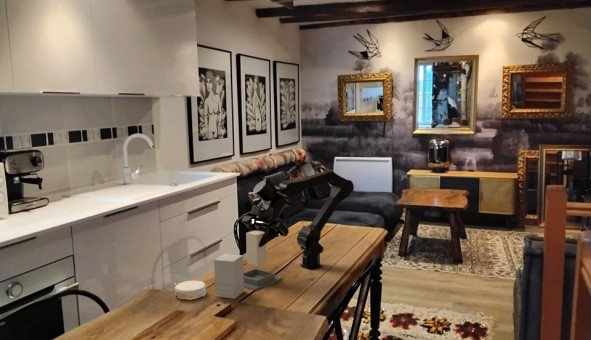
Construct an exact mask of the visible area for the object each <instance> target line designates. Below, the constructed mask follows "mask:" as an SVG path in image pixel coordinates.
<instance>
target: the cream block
mask: <svg viewBox="0 0 591 340" xmlns="http://www.w3.org/2000/svg"><path fill="white" fill-rule="evenodd" d="M264 233H265V231H261V230H259V231H257V230H255V231H251V232H249V231H248V232H246V233H245V237H246V238H245V242H246V249H245V250H246V251H245V252H246V264H249V265H253V266H255V267H258V266H260V265H263V264H266V263H267V259H268V258H267V243H266V244H265V245H263V246H262V247H259V246H258V245H259V243H260V241H261V239H262V237H263V235H264Z"/></svg>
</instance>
